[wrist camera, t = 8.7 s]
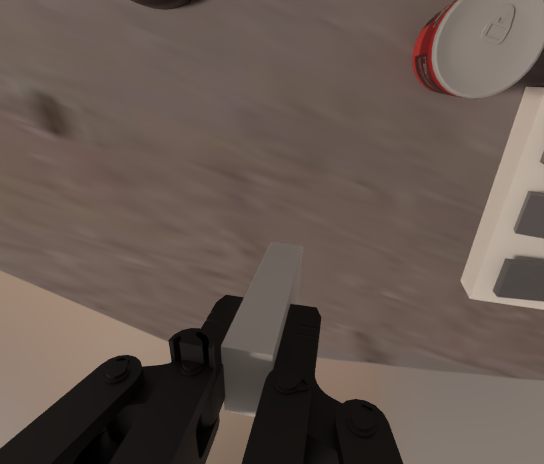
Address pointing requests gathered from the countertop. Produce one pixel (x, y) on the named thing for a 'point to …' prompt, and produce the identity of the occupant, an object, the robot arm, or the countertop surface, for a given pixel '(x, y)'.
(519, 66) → the canned food
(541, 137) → the rocker switch panel
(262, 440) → the robot arm
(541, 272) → the block
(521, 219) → the rocker middle
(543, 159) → the rocker
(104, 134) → the countertop surface
